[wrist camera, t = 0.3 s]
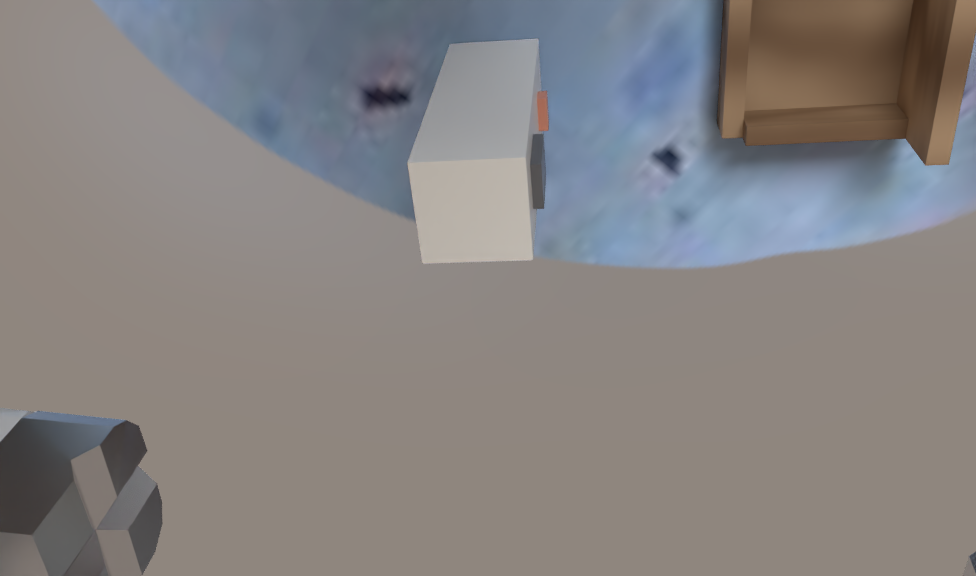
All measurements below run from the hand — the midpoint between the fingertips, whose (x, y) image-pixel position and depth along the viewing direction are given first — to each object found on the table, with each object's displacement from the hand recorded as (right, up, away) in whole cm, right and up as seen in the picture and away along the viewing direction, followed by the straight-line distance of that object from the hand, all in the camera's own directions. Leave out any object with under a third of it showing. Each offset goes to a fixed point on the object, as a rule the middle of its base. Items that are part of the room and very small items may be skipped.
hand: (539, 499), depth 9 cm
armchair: (+16, +15, +35) cm, 41 cm away
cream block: (0, +13, +38) cm, 40 cm away
